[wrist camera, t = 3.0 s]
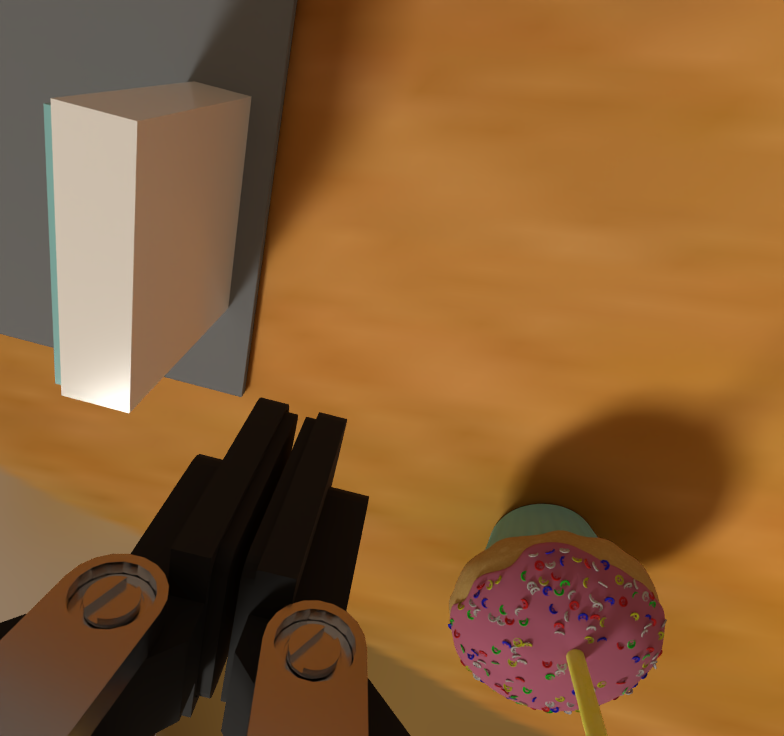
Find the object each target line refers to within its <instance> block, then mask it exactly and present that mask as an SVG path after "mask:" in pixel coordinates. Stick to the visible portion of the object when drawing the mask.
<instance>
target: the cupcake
mask: <svg viewBox="0 0 784 736" xmlns="http://www.w3.org/2000/svg"><path fill="white" fill-rule="evenodd" d="M449 612H450V624H448V627H449V628H450V629H451V631H452V635H453V640H454V645H455V648H456V651H457V653H458V655H459V657H460V658H461V663H462V664H463V665H464V666H465V667H466V669H467V670H468V671H470V672H472V673H473V677H474V678H475V679H476V680H480V681H481V682H483V683H485V684H487V685H488V686H489V687H491V688H492V689H493V691H495V692H498V693H499V694H501V695H503V696H505V697H506V698H507V699H511V700H513V701H515V702H516V703H517V704H522V705H525V706H528V707H530V708H532V709H534V710H536V709H539V710H543V711H545V712H546V713H553V712H555V713H556V712H558V711H564V712H565V713H567V714H571V713H572V711H576V712H580V715H581V718H582V722H583V726H584V730H585V734H586V736H608V735H607V732H606V728H605V725H604V721H603V718H602V715H601V711H600V708H599V706H600V705H601V704H603V703H606V702H608V701H610V700H612V699H613V700H616V699H617V698H618V697H619V696H621V695H624V694H627V695H630V694H632V693H633V689H632V688H634V687H636V686H637V685H638V682H639V681H640V680H641V679H644V678H646V676H647V673H648V672H649V670H650V669H651V668H652V667H654V668H655V669H656V664H655V663H657V661H656V660H657V658H658V657H659V656H660V655H661V654H662V650H661V649H662V645H663V638H664V629H665V623H666V621H667V620H666V619H665V615H664V611H663V608H662V606H661V605H660V603H659V599H658V595H657V592H656V589H655V587H654V585H653V582H652V580H651V578H650V577H649V575H648V573H647V572H646V570H645V569H644V567H643V566H642V565H641V564H640V562H639V561H638V560H636V559H635V558H634V557H632V556H631V555H629V554H627V553H626V552H624V551H623V550H622V549H621V548H619V547H618V546H617V545H616V544H614V543H613V542H611V541H609V540H606V539H602V538H598V537H597V535H596V534H595V533H594V531H593V530H592V529H591V527H590V526H589V524H588V523H587V522H586V521H585V520H584V519H583V518H582V517H581V516H580V515H578V514H577V513H575V512H573V511H571V510H569V509H567V508H564V507H561V506H558V505H552V504H532V505H527V506H523V507H520V508H517V509H515V510H513V511H511V512H509V513H508V514H506V515H505V516H504V517H503V518H502V519H500V521H499V522H498V523H497V524H496V526H495V527H494V529H493V531H492V533H491V536H490V539H489V542H488V544H487V547H486V549H485V551H483V552H481V553H480V554H478V555H477V556H475V557H474V558H472V559H471V560H470V561H469V562H468V563H467V564H466V565H465V567H464V568H463V570H462V572H461V574H460V576H459V578H458V580H457V583H456V585H455V589H454V591H453V593H452V595H451V597H450V600H449ZM450 625H451V626H450ZM476 677H477V678H476ZM628 691H631V692H629V693H628ZM567 711H570V712H567Z"/></svg>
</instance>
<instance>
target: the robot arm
mask: <svg viewBox="0 0 784 736" xmlns="http://www.w3.org/2000/svg"><path fill="white" fill-rule="evenodd" d="M297 420H298V415H297V414H293V413H289V404H285V403H281V402H277V401H273V400H269V399H265V398H259V400H258V401H257V403H256V405H255V406H254V408H253V410H252V411H251V413H250V415H249V416H248V418H247V420H246V422H245V423H244V425H243V427H242V428H241V430H240V432H239V433H238V435H237V437H236V438H235V440H234V442H233V444H232V445H231V447H230V449H229V450H228V452H227V454H226V455H225V457H224V459H223V460H221V459H217V458H213V457H209V456H205V455H201V454H199V455H197V456H196V457H195V458H194V459H193V461H192V462H191V464H190V465H189V467H188V468H187V470H186V471H185V473H184V474H183V476H182V477H181V479H180V480H179V482H178V483H177V485H176V486H175V488H174V489H173V491H172V492H171V494H170V495H169V497H168V498H167V500H166V501H165V503H164V504H163V506H162V507H161V509H160V510H159V512H158V513H157V515H156V516H155V518H154V519H153V521H152V522H151V524H150V525H149V527H148V528H147V530H146V531H145V533H144V534H143V536H142V537H141V539H140V541H139V542H138V544H137V545H136V547H135V548H134V550H133V551H132V552H131V554H110V555H105V556H100V557H96V558H94V559H91V560H89V561H87V562H85V563H83V564H80V565H78V566H77V567H76V568H74V569H73V570H72V571H71V572H69V573H68V574H67V575H65V576H64V578H62V579H61V580H60V581H59V583H58V584H56V585H55V586H54V587H53V588H52V589H51V590H50V591H49V592H48V594H46V595H45V596H44V597H43V598H42V599H41V600H40V601H39V602H38V603H37V604H36V605H35V606H34V607H33V608H32V609H31V610H30V611H29V612H28V613H27V614H24V615H21V616H19V617H16V618H13V619H10V620H7V621H4V622H2V623H0V736H155V735H156V733H157V732H159V731H161V730H163V729H165V728H166V727H168V726H170V725H172V724H174V723H176V722H178V721H179V720H180V717H181V715H183V716H187V717H191V715H192V713H193V710H194V708H195V705H196V703H197V700H198V698H199V696H203V697H207V698H211V697H212V695H213V693H214V690H215V688H216V685H217V683H218V680H219V677H220V675H221V672H222V670H223V667H224V665H225V662H226V659H227V657H228V659H227V665H226V671H225V677H224V683H223V689H222V695H221V701H223V702H226V706H225V712H224V718H223V723H222V729H221V732H222V734H223V736H410V734H409V733H408V732H407V730H406V729H405V728H404V726H403V725H402V723H401V722H400V721H399V719H398V718H397V717H396V715H395V714H394V713H393V711H392V710H391V709H390V707H389V706H388V705H387V703H386V702H385V700H384V699H383V698H382V696H381V695H380V694H379V692H378V691H377V690H376V688H375V687H374V686H373V684H372V683H371V681H370V680H369V679H368V677H367V676H368V675H367V646H366V640H365V635H364V633H363V631H362V629H361V628H360V626H359V624H358V622H357V621H356V620H355V619H354V618H353V617H352V616H351V615H350V614H349V613H348V612H347V611H346V609H347V604H348V599H349V594H350V589H351V585H352V580H353V575H354V570H355V565H356V560H357V555H358V550H359V545H360V540H361V535H362V530H363V525H364V520H365V515H366V510H367V505H368V500H369V496H365V495H361V494H357V493H353V492H349V491H345V490H341V489H337V488H333V487H331V486H332V482H333V478H334V473H335V469H336V465H337V461H338V457H339V452H340V448H341V444H342V440H343V436H344V431H345V427H346V423H347V419H344V418H340V417H336V416H333V415H329V414H325V413H321V412H319V414H318V416H317V419H313V418H309V417H306V418H305V421H304V423H303V425H302V428H301V430H300V432H299V435H298V437H297V439H296V442H295V444H294V446H293V441H294V436H295V431H296V425H297ZM292 446H293V449H292Z"/></svg>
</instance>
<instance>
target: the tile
mask: <svg viewBox="0 0 784 736" xmlns="http://www.w3.org/2000/svg"><path fill="white" fill-rule="evenodd" d="M251 97H252V96H248V95H244V94H240V93H236V92H233V91H229V90H225V89H221V88H218V87H214V86H210V85H206V84H203V83H199V82H195V81H193V82H185V83H176V84H167V85H159V86H150V87H142V88H133V89H125V90H116V91H108V92H99V93H91V94H82V95H74V96H65V97H57V98H50V99H51V103H43V106H44V129H45V153H46V176H47V199H48V223H49V246H50V270H51V293H52V317H53V340H54V363H55V383H56V384H60V385H61V393H62V396H66V397H70V398H74V399H78V400H82V401H85V402H89V403H93V404H97V405H101V406H104V407H108V408H112V409H116V410H120V411H123V412H127V413H130V412H131V411H132V410H133V409H134V408H135V407H136V406H137V405H138V403H139V402H140V401H141V400H142V399H143V398H144V397H145V396H146V395H147V394H148V393H149V392H150V391H151V390H152V389H153V388H154V386H155V385H156V384H157V383H158V382H159V381H160V380H161V379H162V378H163V377H164V376H165V375H166V374H167V373H168V372H169V371H170V370H171V368H172V367H173V366H174V365H175V364H176V363H177V362H178V361H179V360H180V359H181V358H182V357H183V356H184V355H185V354H186V353H187V351H188V350H189V349H190V348H191V347H192V346H193V345H194V344H195V343H196V342H197V341H198V340H199V339H200V338H201V337H202V336H203V334H204V333H205V332H206V331H207V330H208V329H209V328H210V327H211V326H212V325H213V324H214V323H215V322H216V321H217V320H218V319H219V318H220V316H221V315H222V314H223V313H224V312H225V311H226V310H227V309H228V306H229V297H230V288H231V279H232V270H233V260H234V251H235V242H236V233H237V224H238V215H239V206H240V197H241V188H242V179H243V170H244V161H245V152H246V143H247V134H248V124H249V115H250V106H251Z"/></svg>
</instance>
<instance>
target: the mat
mask: <svg viewBox="0 0 784 736" xmlns="http://www.w3.org/2000/svg"><path fill="white" fill-rule="evenodd" d="M296 5H297V0H0V334H3V335H7V336H11V337H15V338H19V339H22V340H26V341H30V342H34V343H38V344H41V345H45V346H49V347H53V348H54V340H53V317H52V293H51V270H50V246H49V223H48V199H47V176H46V153H45V129H44V106H43V103H51V99H50V98H57V97H65V96H74V95H82V94H91V93H99V92H108V91H116V90H125V89H133V88H142V87H150V86H159V85H167V84H176V83H185V82H193V81H195V82H199V83H203V84H206V85H210V86H214V87H218V88H221V89H225V90H229V91H233V92H236V93H240V94H244V95H248V96H252V97H251V106H250V115H249V124H248V134H247V143H246V152H245V161H244V170H243V179H242V188H241V197H240V206H239V215H238V224H237V233H236V242H235V251H234V260H233V270H232V279H231V288H230V297H229V306H228V309H227V310H226V311H225V312H224V313H223V314H222V315H221V316H220V318H219V319H218V320H217V321H216V322H215V323H214V324H213V325H212V326H211V327H210V328H209V329H208V330H207V331H206V332H205V333H204V334H203V336H202V337H201V338H200V339H199V340H198V341H197V342H196V343H195V344H194V345H193V346H192V347H191V348H190V349H189V350H188V351H187V353H186V354H185V355H184V356H183V357H182V358H181V359H180V360H179V361H178V362H177V363H176V364H175V365H174V366H173V367H172V368H171V370H170V371H169V372H168V373H167V374H166V375H165V376H164V377H167V378H171V379H175V380H178V381H182V382H186V383H190V384H194V385H197V386H201V387H205V388H209V389H213V390H216V391H220V392H224V393H228V394H232V395H235V396H239V397H242V396H243V394H244V393H245V385H246V378H247V370H248V363H249V355H250V348H251V341H252V333H253V326H254V318H255V311H256V303H257V296H258V288H259V281H260V274H261V266H262V259H263V251H264V244H265V236H266V229H267V221H268V214H269V206H270V199H271V192H272V184H273V177H274V169H275V162H276V154H277V147H278V139H279V132H280V125H281V117H282V110H283V102H284V95H285V87H286V80H287V72H288V65H289V58H290V50H291V43H292V35H293V28H294V20H295V13H296Z"/></svg>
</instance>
